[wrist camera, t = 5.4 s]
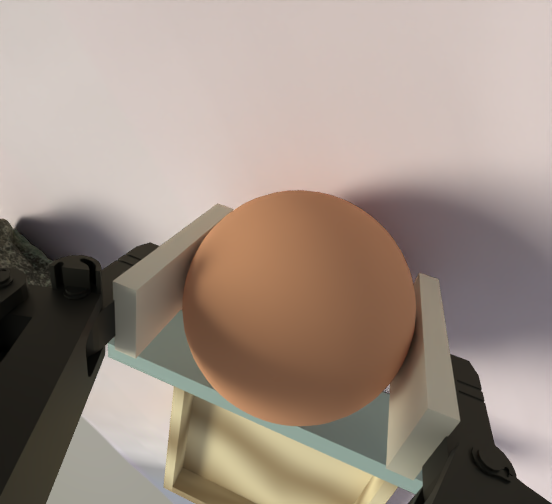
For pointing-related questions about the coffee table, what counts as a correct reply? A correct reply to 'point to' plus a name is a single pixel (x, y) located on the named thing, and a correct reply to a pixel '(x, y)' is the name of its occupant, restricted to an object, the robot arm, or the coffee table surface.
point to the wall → (325, 438)
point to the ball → (299, 308)
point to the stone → (23, 256)
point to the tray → (254, 463)
